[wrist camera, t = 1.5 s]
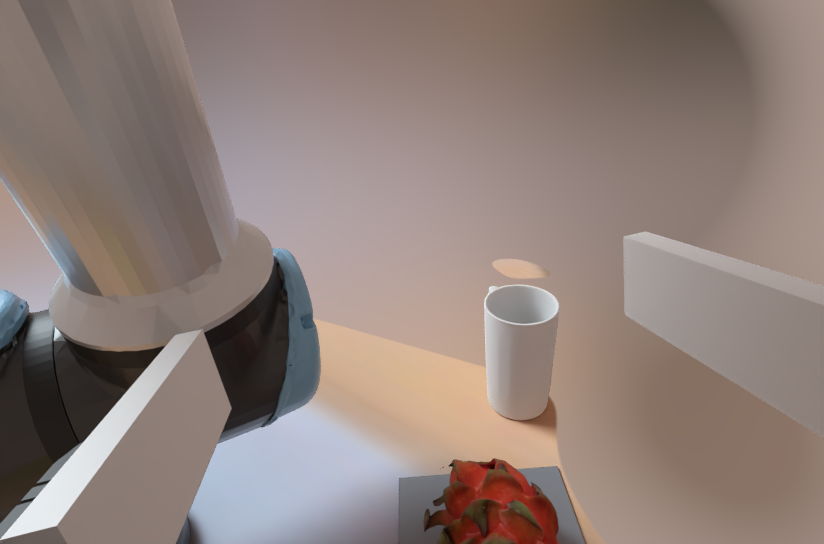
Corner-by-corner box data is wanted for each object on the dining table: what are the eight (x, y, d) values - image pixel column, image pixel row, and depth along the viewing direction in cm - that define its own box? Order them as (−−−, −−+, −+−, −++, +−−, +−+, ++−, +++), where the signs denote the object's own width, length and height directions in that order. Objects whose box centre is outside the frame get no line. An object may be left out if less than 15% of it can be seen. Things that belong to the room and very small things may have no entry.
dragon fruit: (533, 686, 26) (459, 522, 37) (630, 589, 26) (527, 453, 37) (446, 651, 23) (392, 482, 34) (558, 538, 23) (467, 405, 33)
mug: (564, 411, 43) (575, 313, 37) (504, 432, 41) (507, 333, 36) (513, 352, 51) (515, 264, 46) (461, 367, 50) (458, 279, 44)
